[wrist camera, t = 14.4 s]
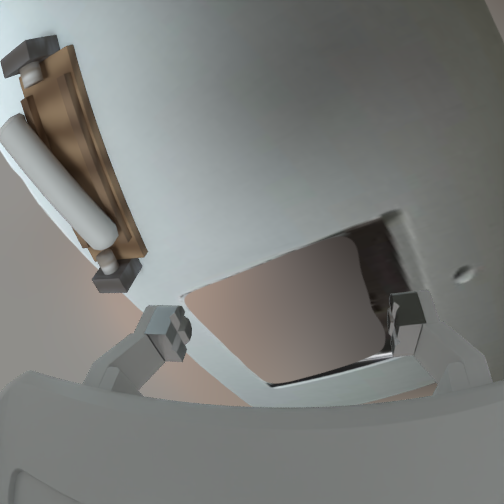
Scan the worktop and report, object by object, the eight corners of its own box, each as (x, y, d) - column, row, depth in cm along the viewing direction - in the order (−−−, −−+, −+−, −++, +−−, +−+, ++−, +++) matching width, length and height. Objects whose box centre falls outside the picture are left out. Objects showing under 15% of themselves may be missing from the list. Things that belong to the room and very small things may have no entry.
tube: (120, 241, 41) (9, 114, 30) (96, 263, 42) (-10, 142, 31) (128, 226, 45) (28, 111, 35) (106, 247, 46) (9, 136, 36)
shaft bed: (21, 59, 31) (-9, 68, 26) (68, 27, 29) (37, 31, 24) (105, 269, 55) (89, 293, 50) (154, 265, 52) (139, 292, 47)
